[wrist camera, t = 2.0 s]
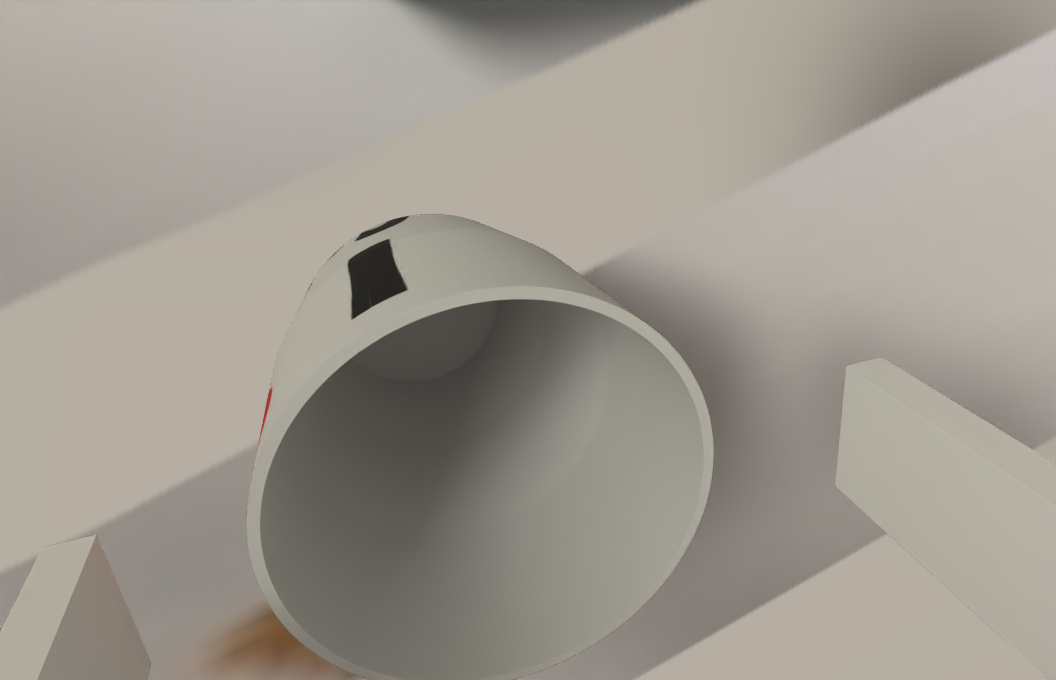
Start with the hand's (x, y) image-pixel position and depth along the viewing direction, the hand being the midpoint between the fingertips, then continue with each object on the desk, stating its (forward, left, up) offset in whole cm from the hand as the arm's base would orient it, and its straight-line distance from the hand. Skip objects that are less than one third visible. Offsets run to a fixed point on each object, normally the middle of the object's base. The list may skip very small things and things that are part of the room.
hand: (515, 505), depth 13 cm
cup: (0, 0, -10) cm, 10 cm away
